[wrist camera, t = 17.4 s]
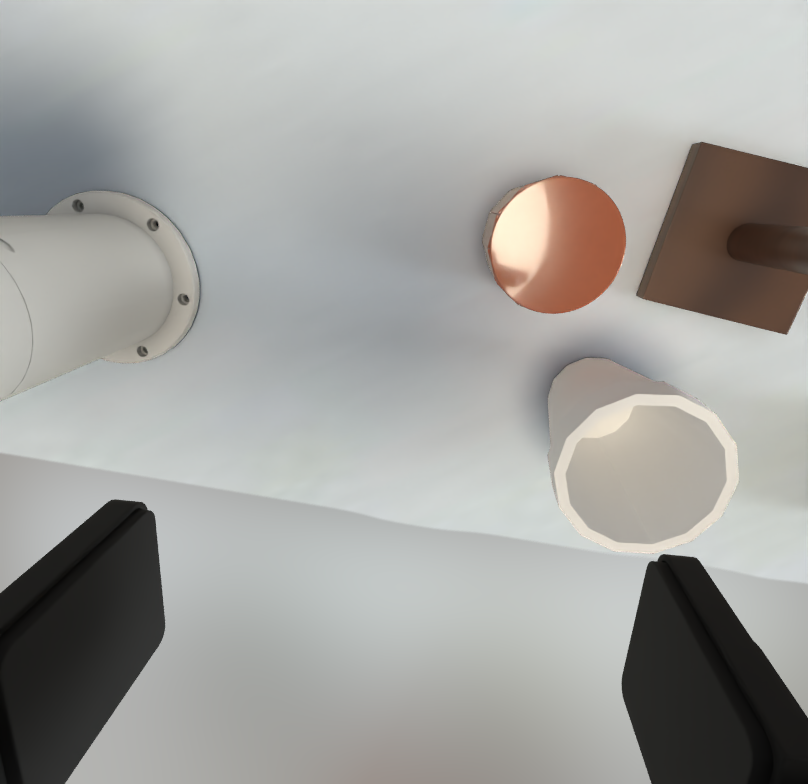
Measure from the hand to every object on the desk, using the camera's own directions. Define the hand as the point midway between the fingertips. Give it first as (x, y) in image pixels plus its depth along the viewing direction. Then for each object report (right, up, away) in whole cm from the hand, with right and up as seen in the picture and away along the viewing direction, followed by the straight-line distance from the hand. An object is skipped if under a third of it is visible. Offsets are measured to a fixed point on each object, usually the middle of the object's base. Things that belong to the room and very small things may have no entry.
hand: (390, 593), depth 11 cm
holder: (+22, +14, +27) cm, 38 cm away
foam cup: (+14, +3, +32) cm, 35 cm away
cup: (+9, +14, +28) cm, 33 cm away
